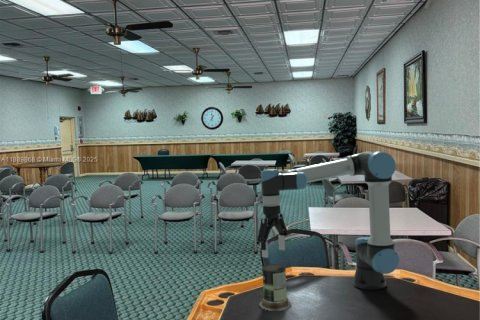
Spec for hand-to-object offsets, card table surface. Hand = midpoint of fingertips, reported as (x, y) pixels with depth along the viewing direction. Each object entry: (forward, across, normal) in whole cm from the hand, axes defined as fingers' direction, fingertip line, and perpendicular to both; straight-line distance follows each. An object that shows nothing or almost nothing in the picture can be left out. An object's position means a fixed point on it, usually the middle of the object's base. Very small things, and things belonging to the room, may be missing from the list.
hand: (273, 253), depth 190 cm
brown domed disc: (+23, +1, 0) cm, 23 cm away
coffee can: (+20, +1, 0) cm, 20 cm away
